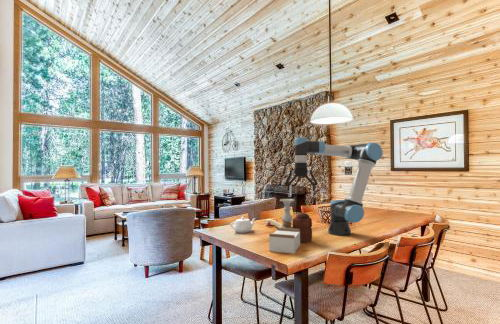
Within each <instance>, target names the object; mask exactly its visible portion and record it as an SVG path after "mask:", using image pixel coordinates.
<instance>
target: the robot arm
mask: <svg viewBox="0 0 500 324" xmlns="http://www.w3.org/2000/svg"><path fill="white" fill-rule="evenodd" d="M383 154H384V152H383V148H382V147H381V145H380V144H379V143H377V142H367V143H359V144H352V145H351V144H346V145H338V144H337V145H333V144H326V143H325V141H322V140H321V141H320V140H308V139H307V137H303V136H302V137H300V136H299V137H296V138H295V139H294V170H292V169H290V170H289V174H288V176H287V178H286V179H285V182H284V185H287V191H289V197H292V194H293V193H292V191H293V190H292V187H293V186H292V185H291V184H292V183H293V182H294V181H295V180H296V179H297V178H306V180H307V181H308V182H309V183H310V184H311V187H310V188H311V189H310V190H311V197H312V198H313V197H314V192H315V191H316V186H317V185H318V184H319V182H318V181H317V179H316V178H315V175H314V173H313V170H312V169H310V170H308V163H307V162H308V155H319V156H331V157H342V158H343V157H344V158H345V159H348V160H355V161H357V162H358V164H357V168H356V171H355V174H354V178H353V180H352V184H351V186H350V187H351V188H350V190H349V194H348V195H347V197H345V198H344V199H336V200H335V199H334V200H331V201H330V203H329V206H330V210H329V211H330V223H329V226H328V230H327V232H328V234H330V235H334V236H350V235H351V234H352V230H351V226H350V224H349V223H358V222H360V221H362V219H363V218H364V216H365V210H364V208H363V206H364V203H363V199H364V195H365V191H366V188H367V185H368V182H369V178H370V176H371V172H372V169H373V167H375V166H376V164H377V161H379V160H380V159H382V156H383ZM293 174H294V176H293V177H292V175H293ZM308 174H309V175H310V177H311V178H312V179H311V178H310V177H309V175H308ZM291 178H292V179H291Z"/></svg>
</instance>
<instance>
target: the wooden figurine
mask: <svg viewBox="0 0 500 324" xmlns="http://www.w3.org/2000/svg"><path fill="white" fill-rule="evenodd" d="M292 218H293V220H292V225H291V227H292V228H293V229H300V244H302V243H311V242H312V239H313V228H312V226H313V220H312V218H311V216H310V215H309V214H308V213H306V212H299V213H297V214H296V216H295V217H292Z"/></svg>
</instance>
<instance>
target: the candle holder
mask: <svg viewBox="0 0 500 324" xmlns="http://www.w3.org/2000/svg"><path fill="white" fill-rule="evenodd" d="M279 202H283V205H284V207H283V208H282V209H283V211H284V214H283V215H282V217H281V219H282V220H283V221H284V223H283V221H282V223H283V225H284V226H283V227H282V228H292V227H293V225H292V224H293V218H294V217H293V216H292V214H291V213H290V212H291V210H292V207H291V203H292V202H295V199H293V198H280V199H279Z"/></svg>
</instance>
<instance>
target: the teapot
mask: <svg viewBox="0 0 500 324" xmlns="http://www.w3.org/2000/svg"><path fill="white" fill-rule="evenodd" d="M255 219H257V217H254V218H252V220H251V219H249V218H245V217H244V216H241V217H240V218H237V219H235V221H233V222H230V225H229V226H230V228H232V230H234V231H235V232H236V233H240V234H242V233H244V234H245V233H246V234H247V233H249V232H251V230H253V226H254V223H255V221H256V220H255Z"/></svg>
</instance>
